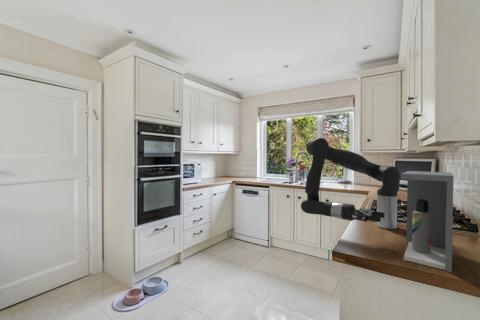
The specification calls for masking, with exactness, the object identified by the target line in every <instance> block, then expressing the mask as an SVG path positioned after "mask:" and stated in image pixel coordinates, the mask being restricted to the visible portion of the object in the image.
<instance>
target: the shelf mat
mask: <svg viewBox="0 0 480 320" xmlns="http://www.w3.org/2000/svg"><path fill="white" fill-rule="evenodd" d="M405 249H406V250H405V251H404V253H403V261H406V262H407V261H408V262H412V263H416V264H419V265H422V266H427V267H432V268H435V269H439V270H443V271H446V263H445V249H443V248H438V247H433V246H431V252H430V253H420V252H417V251H414V250H413V249H412V242H409V243H408V244H407V246H406V248H405Z"/></svg>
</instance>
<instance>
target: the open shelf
mask: <svg viewBox="0 0 480 320" xmlns="http://www.w3.org/2000/svg"><path fill="white" fill-rule="evenodd" d="M454 179H455V178H454V174H453V173H452V172H447V171H442V172H441V171H419V170H415V171H414V170H407V171H405V172H402V173H400V180H407V186H406V187H407V188H406V189H407V190H406V192H407V193H406V195H407V196H406V245H408V243H409V242H412V222H413V211H416V200H418V199H424V200H427V201H428V212H429V213H431V246H433V247H438V248H443V249H445V263H446V270H445V272H447V273H453V272H452V271H453V270H452V269H453V227H454V225H453V224H454V222H453V221H454V220H453V218H454V214H453V213H454Z"/></svg>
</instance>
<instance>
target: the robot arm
mask: <svg viewBox="0 0 480 320" xmlns="http://www.w3.org/2000/svg"><path fill="white" fill-rule="evenodd" d="M305 149H306V152H307V153H308V154H309V155H310V156H312V161H311V162H312V163H311V166H310V168H309V171H308V173H307V176H306V181H305V189H304V191H305V194H307V195H306V196H307V197H306V199H304V200H303V201H302V202H301V203H300V209H301V211H302V212H304V213H305V214H310V215H319V216H320V215H321V216H324V217H325V216H326V217H331V218H335V219H338V220H344V221H350V222H354V220H356V221H361V222H365V223H366V222H367V223H368V222H370V221H372V222H376V226H377V227H379V228H382V229H387V230H394V229H397V228H398V224H397V223H398V192H399V190H400V181H401V173H400V170H399V169H398V168H397V167H395V166H392V165H391V166H390V165H380V164H376V163H373V162H371V161H369V160H368V159H366V158H365V157H364V156H363V155H361V154H358V153H356V152H353V151H351V150H347V149H341V148H336V147H332V146H329V143H328V141H327V140H326V138H323V137H317V138H314V139H311V140H309V141H308V142H307V143H306V146H305ZM326 160H327V161H329V162H332V163H334V164H336V165H338V166H340V167H343V168H345V169H348V170H350V171H353V172H356V173H360V174H364V175H366V176H368V177H370V178H372V179H374V180H375V181H377V182H380V183H382V185H381V187H380V188H378V189H377V191H376V211H375V210H374V209H371V208H362V207H360V208H358V209H356V205H354V204H351V203H350V204H349V203H343V202H333V201H320V187H321V180H322V174H323V170H324V169H323V168H324V166H325V165H324V164H325V163H326V162H325V161H326Z"/></svg>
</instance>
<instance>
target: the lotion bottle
mask: <svg viewBox="0 0 480 320" xmlns="http://www.w3.org/2000/svg"><path fill="white" fill-rule="evenodd" d="M412 249H413V250H414V251H417V252H420V253H430V252H431V213H429V212H428V201H427V200H424V199H418V200H416V211H413V222H412Z"/></svg>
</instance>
